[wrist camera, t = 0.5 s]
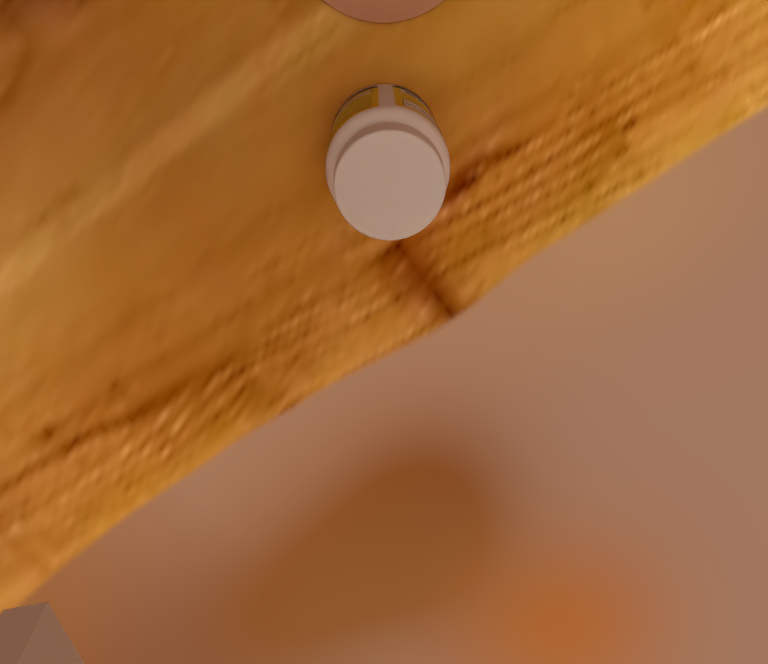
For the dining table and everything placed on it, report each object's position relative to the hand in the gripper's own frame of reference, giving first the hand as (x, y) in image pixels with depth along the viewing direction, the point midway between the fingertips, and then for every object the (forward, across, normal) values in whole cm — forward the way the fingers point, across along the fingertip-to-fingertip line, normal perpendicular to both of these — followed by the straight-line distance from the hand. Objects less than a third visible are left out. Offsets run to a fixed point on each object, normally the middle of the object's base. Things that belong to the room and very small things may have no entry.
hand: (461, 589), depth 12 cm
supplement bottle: (+25, 0, +2) cm, 25 cm away
